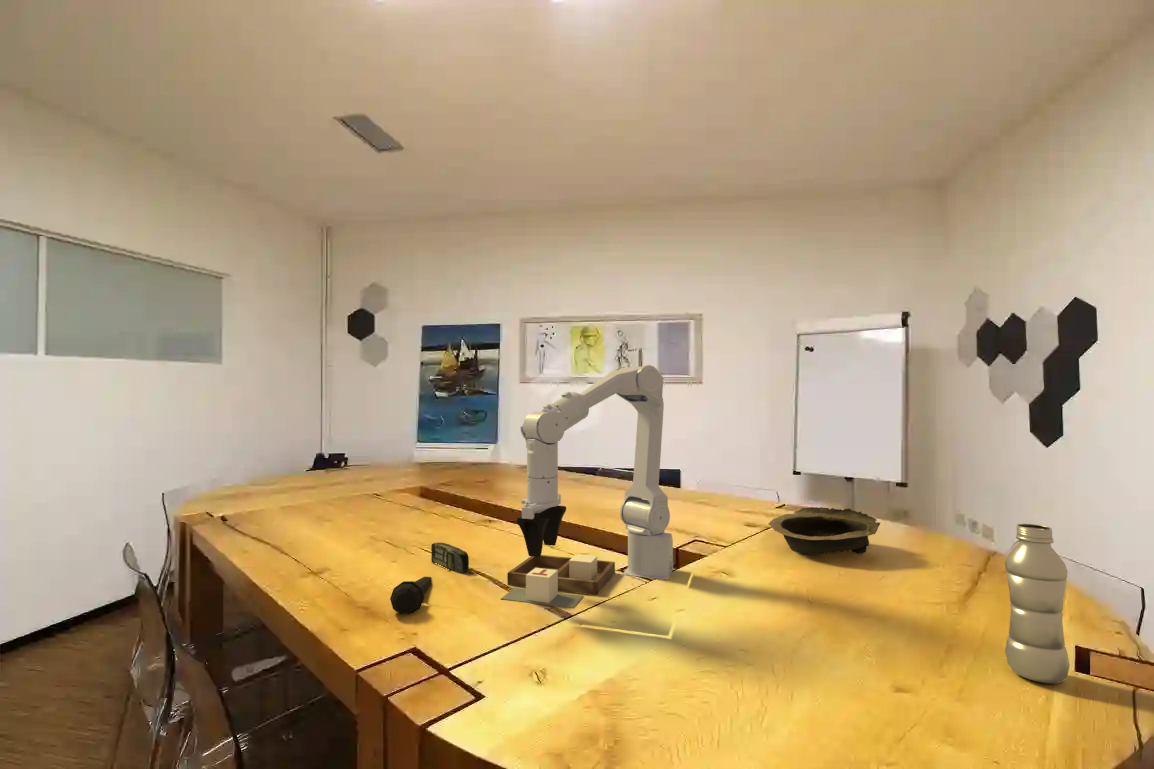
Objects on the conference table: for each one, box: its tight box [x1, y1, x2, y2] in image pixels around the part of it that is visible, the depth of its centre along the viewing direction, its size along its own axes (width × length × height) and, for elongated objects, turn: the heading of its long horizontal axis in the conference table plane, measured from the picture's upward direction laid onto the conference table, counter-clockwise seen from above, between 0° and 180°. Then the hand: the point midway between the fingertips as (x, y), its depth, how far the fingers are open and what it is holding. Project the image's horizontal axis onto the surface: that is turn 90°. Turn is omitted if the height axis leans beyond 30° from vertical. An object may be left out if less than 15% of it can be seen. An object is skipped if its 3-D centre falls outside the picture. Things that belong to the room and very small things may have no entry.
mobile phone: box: [430, 542, 474, 575], centre depth 120 cm, size 5×3×15 cm
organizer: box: [506, 554, 616, 596], centre depth 112 cm, size 18×14×3 cm
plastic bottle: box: [1004, 523, 1071, 684], centre depth 73 cm, size 6×7×20 cm
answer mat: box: [500, 587, 585, 609], centre depth 101 cm, size 14×6×1 cm, turn 72°
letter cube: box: [525, 568, 559, 603], centre depth 101 cm, size 4×4×5 cm
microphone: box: [390, 576, 433, 615], centre depth 103 cm, size 6×6×20 cm
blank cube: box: [569, 553, 598, 581], centre depth 110 cm, size 4×4×4 cm
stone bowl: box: [768, 506, 881, 556], centre depth 134 cm, size 25×25×9 cm
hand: (542, 550), depth 101 cm, fingers open, 7 cm apart
